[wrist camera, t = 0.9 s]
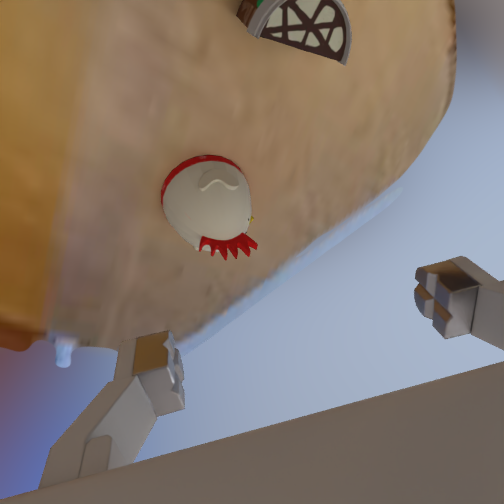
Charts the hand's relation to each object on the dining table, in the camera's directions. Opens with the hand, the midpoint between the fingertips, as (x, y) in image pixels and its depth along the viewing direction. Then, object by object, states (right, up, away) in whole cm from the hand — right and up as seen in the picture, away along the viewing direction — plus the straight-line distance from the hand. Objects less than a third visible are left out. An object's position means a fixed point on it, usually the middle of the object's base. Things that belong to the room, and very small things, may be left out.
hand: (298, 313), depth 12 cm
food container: (+2, +32, +33) cm, 46 cm away
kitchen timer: (-9, +11, +49) cm, 51 cm away
